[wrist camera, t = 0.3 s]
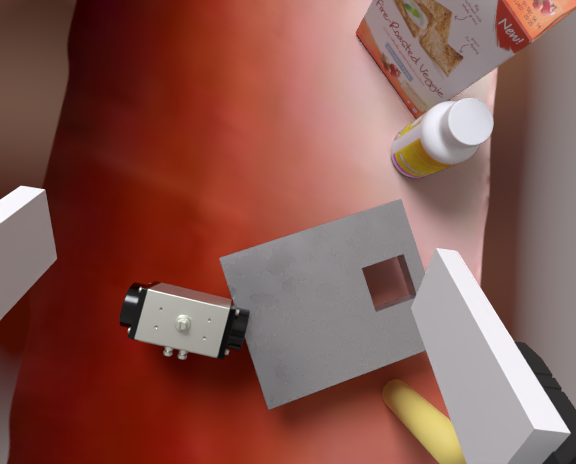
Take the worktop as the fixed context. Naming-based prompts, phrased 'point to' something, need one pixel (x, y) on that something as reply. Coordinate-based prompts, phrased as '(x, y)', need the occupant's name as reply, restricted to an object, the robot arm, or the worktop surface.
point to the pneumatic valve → (183, 320)
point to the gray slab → (325, 302)
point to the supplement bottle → (442, 137)
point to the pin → (424, 422)
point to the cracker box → (450, 41)
